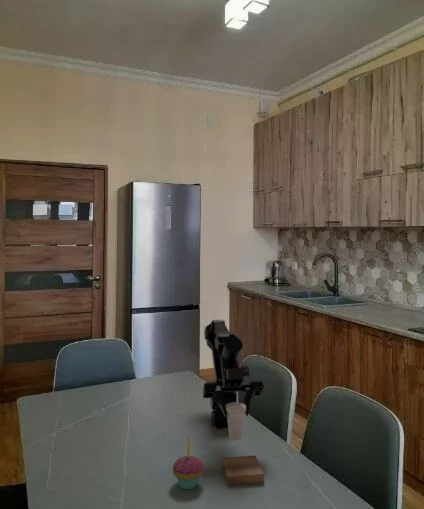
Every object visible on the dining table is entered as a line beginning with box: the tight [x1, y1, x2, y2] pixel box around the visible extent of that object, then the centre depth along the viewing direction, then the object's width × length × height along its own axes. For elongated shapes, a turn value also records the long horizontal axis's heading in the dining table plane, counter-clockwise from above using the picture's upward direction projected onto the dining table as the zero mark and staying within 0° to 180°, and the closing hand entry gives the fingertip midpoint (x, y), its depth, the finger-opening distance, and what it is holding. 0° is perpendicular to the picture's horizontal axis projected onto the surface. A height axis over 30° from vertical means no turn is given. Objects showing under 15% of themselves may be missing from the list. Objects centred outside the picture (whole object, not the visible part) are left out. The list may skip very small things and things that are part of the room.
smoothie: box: [226, 391, 246, 441], centre depth 129 cm, size 6×6×14 cm
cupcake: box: [172, 436, 205, 490], centre depth 114 cm, size 9×8×12 cm
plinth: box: [221, 455, 265, 487], centre depth 120 cm, size 10×10×2 cm
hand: (236, 416), depth 127 cm, fingers closed on smoothie, 6 cm apart
